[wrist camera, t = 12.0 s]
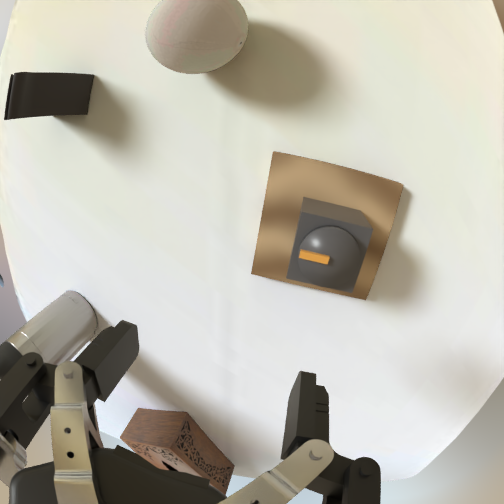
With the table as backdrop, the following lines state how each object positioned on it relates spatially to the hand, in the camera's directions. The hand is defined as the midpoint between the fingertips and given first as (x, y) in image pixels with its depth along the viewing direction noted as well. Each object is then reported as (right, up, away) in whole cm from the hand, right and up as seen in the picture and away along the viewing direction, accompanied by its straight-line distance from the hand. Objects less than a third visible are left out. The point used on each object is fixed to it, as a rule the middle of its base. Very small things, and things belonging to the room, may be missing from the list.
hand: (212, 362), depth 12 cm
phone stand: (-25, +28, +18) cm, 42 cm away
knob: (+10, +7, +17) cm, 21 cm away
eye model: (-3, +29, +13) cm, 31 cm away
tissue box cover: (-14, -41, +44) cm, 61 cm away
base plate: (+10, +8, +18) cm, 22 cm away
